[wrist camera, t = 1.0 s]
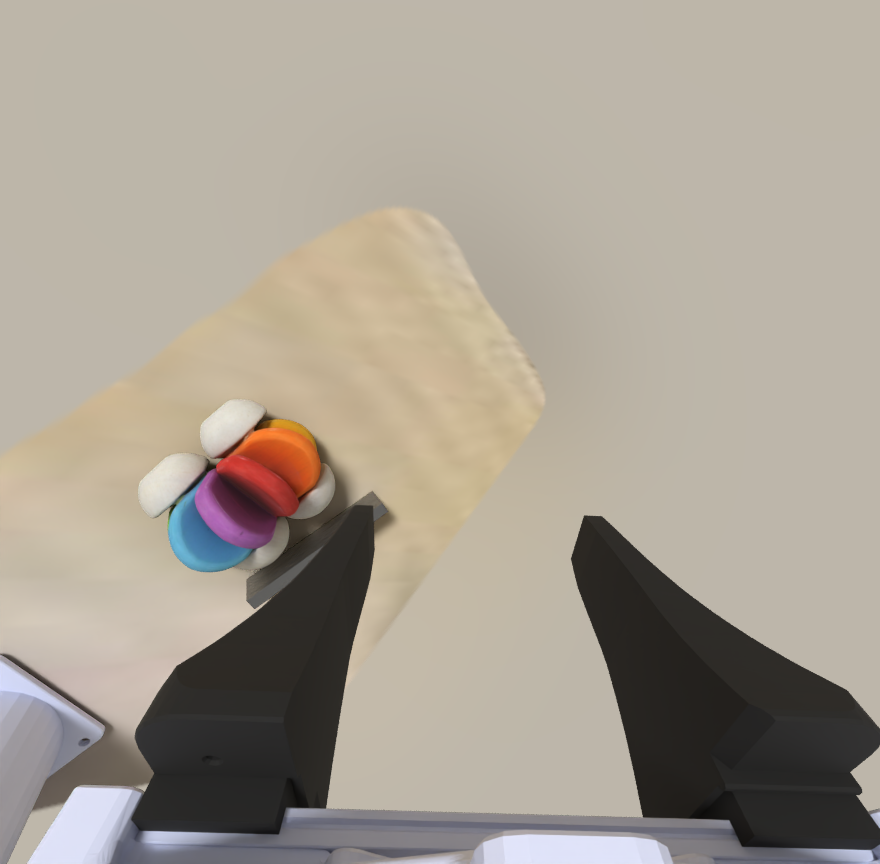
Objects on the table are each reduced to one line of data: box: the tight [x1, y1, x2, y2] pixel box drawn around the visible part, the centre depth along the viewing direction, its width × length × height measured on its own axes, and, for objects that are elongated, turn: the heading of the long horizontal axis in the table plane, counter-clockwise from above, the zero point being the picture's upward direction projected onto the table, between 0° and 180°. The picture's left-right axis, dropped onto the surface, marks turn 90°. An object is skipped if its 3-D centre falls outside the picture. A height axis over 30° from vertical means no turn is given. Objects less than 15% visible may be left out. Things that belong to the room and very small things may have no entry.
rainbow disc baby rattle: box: [138, 399, 335, 572], centre depth 22 cm, size 8×10×7 cm
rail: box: [247, 492, 388, 609], centre depth 27 cm, size 10×1×2 cm, turn 119°
